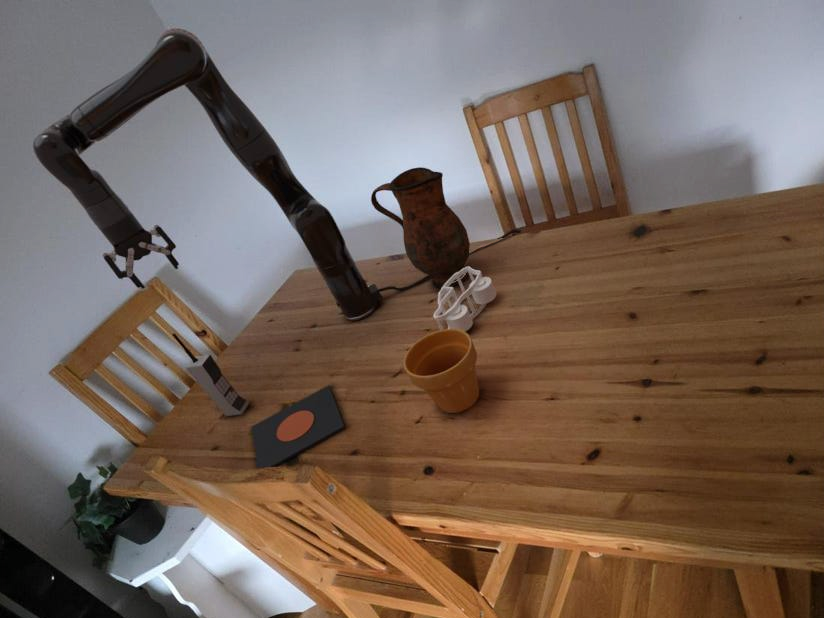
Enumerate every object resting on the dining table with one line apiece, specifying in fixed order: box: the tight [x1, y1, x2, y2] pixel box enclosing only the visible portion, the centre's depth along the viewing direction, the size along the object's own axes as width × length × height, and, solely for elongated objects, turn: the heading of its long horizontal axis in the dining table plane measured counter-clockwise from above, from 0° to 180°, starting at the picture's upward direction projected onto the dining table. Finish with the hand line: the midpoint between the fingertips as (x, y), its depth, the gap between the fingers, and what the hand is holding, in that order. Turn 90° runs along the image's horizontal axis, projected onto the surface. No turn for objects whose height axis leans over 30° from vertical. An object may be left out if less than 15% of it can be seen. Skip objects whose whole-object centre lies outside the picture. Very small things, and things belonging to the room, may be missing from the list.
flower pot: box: [403, 328, 480, 414], centre depth 120 cm, size 14×14×13 cm
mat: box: [251, 384, 346, 469], centre depth 133 cm, size 20×17×1 cm
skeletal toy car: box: [433, 265, 497, 332], centre depth 144 cm, size 20×11×7 cm, turn 147°
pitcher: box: [370, 166, 471, 290], centre depth 154 cm, size 17×21×30 cm
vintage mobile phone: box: [171, 332, 250, 417], centre depth 139 cm, size 4×5×25 cm
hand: (160, 277), depth 141 cm, fingers open, 8 cm apart
